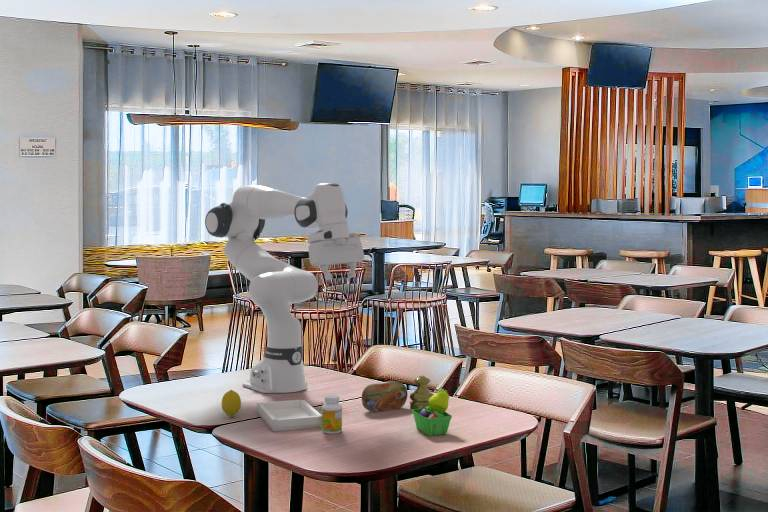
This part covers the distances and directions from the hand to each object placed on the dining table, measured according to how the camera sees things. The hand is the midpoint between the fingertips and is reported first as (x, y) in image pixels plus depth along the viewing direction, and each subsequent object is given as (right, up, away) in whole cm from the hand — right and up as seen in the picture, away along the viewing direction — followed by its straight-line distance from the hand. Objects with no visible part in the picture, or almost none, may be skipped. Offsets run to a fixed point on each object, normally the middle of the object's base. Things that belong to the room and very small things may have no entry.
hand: (340, 278), depth 282 cm
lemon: (-31, -40, -17) cm, 53 cm away
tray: (-14, -40, -20) cm, 47 cm away
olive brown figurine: (+25, -39, -8) cm, 47 cm away
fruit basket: (+27, -41, -32) cm, 58 cm away
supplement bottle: (-1, -41, -33) cm, 53 cm away
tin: (+13, -39, -8) cm, 42 cm away
